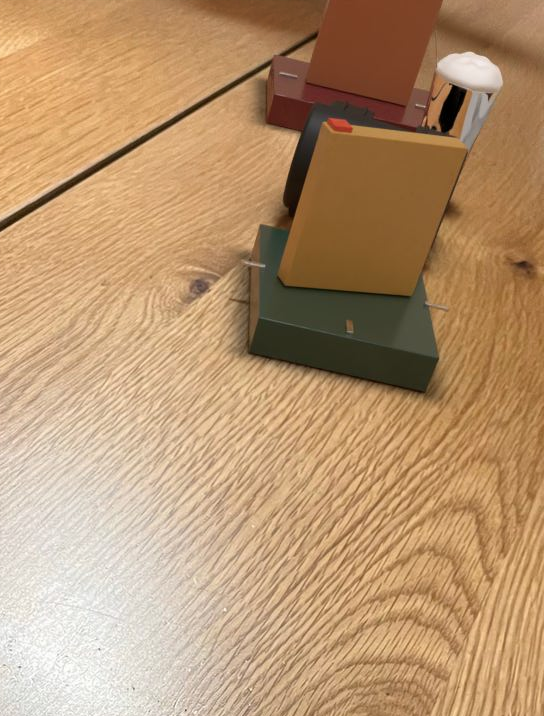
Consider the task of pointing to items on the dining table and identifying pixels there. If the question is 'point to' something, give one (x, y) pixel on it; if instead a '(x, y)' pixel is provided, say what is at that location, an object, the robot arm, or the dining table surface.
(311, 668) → the dining table surface
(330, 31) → the upright brown plank
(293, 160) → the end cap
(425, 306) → the green pinned base
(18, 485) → the dining table surface
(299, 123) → the dark red base box
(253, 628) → the dining table surface
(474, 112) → the milkshake
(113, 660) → the dining table surface
